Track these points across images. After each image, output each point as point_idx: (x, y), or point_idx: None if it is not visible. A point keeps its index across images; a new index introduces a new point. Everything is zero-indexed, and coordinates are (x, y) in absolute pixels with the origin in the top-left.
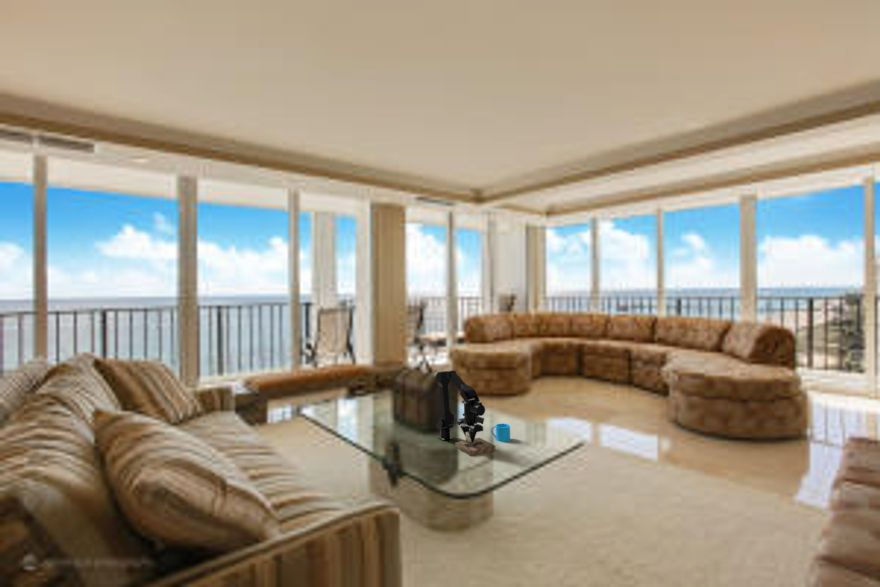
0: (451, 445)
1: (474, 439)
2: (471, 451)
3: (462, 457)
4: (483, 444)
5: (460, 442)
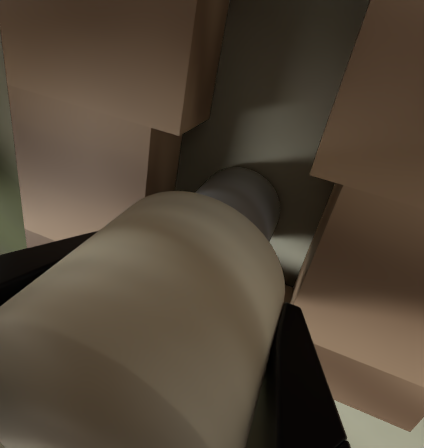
0: (11, 227)
1: (267, 275)
2: (420, 411)
3: (347, 425)
4: (419, 20)
5: (53, 232)
